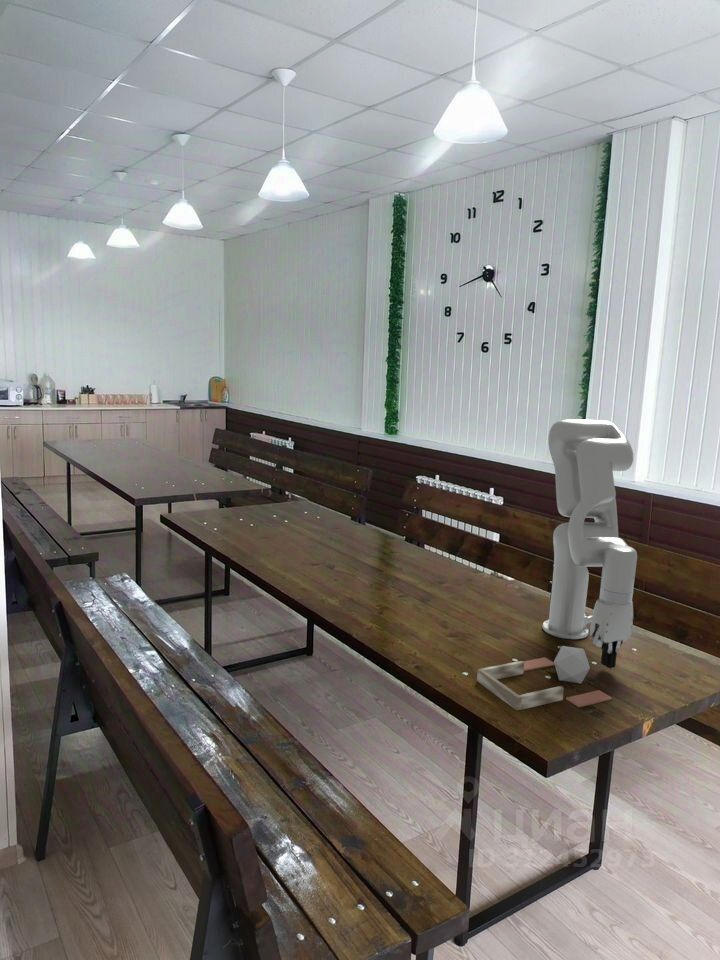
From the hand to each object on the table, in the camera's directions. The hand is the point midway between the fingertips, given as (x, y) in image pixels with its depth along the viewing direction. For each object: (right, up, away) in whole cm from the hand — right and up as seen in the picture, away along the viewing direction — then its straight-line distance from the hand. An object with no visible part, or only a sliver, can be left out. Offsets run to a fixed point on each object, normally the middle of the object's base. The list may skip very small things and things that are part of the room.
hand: (607, 665), depth 177 cm
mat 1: (-18, 0, +2) cm, 18 cm away
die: (-11, -2, -5) cm, 12 cm away
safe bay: (-24, -3, -12) cm, 27 cm away
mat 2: (-9, -4, -15) cm, 18 cm away
